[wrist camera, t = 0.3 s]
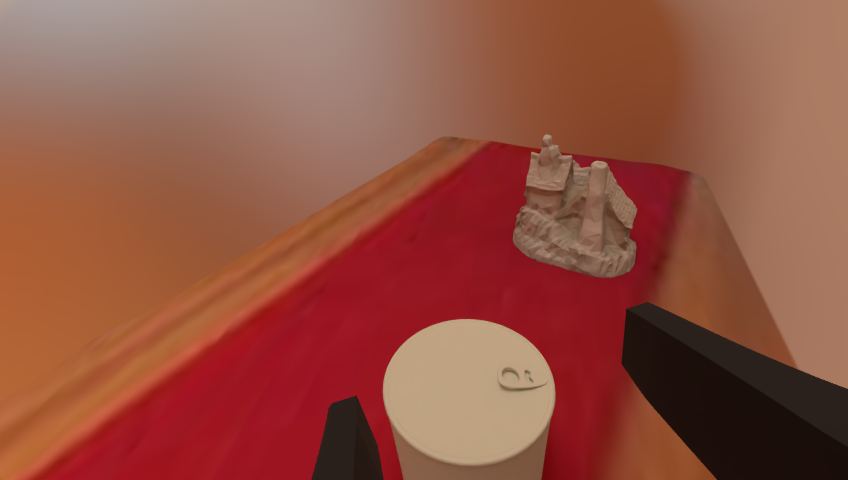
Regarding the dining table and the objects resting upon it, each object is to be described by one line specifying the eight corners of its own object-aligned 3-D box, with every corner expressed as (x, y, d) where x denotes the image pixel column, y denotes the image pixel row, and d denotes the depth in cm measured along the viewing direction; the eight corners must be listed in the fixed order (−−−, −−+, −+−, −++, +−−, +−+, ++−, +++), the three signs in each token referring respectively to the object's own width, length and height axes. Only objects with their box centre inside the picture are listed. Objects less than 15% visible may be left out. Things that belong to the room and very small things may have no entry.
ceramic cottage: (615, 289, 43) (642, 153, 36) (489, 246, 53) (490, 133, 46) (660, 234, 53) (687, 119, 45) (546, 207, 63) (554, 109, 56)
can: (554, 571, 23) (579, 460, 17) (398, 565, 24) (365, 458, 18) (528, 424, 31) (539, 310, 24) (411, 424, 32) (391, 313, 25)
